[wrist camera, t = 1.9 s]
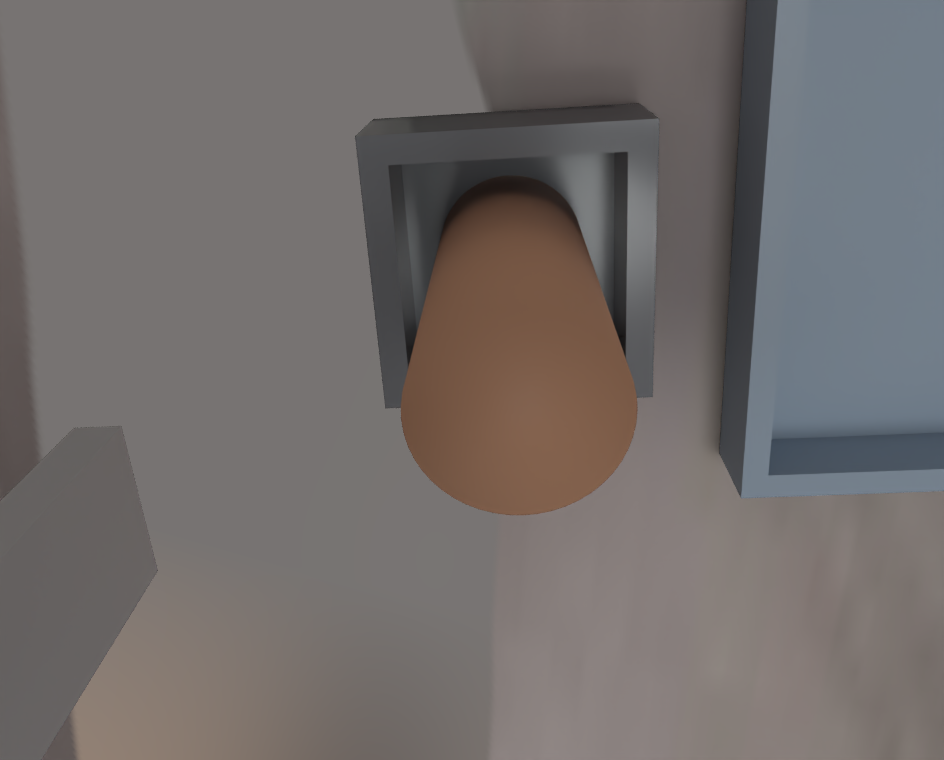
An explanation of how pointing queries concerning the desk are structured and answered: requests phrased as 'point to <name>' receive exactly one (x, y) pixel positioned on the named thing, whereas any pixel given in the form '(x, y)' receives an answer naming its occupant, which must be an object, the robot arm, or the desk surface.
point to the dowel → (516, 358)
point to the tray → (838, 252)
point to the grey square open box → (500, 154)
